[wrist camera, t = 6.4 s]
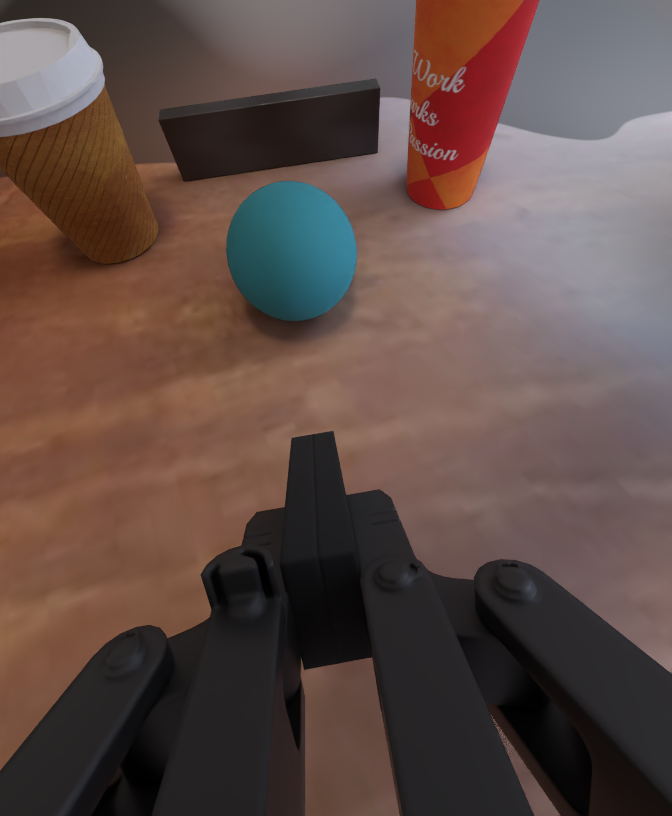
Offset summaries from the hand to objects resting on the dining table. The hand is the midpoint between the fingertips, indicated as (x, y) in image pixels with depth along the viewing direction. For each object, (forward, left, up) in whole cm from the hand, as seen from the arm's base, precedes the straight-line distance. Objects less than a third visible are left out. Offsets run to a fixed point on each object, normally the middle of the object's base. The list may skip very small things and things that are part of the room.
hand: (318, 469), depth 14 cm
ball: (0, -15, -3) cm, 16 cm away
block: (0, -32, -7) cm, 33 cm away
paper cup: (-13, -25, -8) cm, 29 cm away
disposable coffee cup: (+14, -25, -8) cm, 30 cm away
